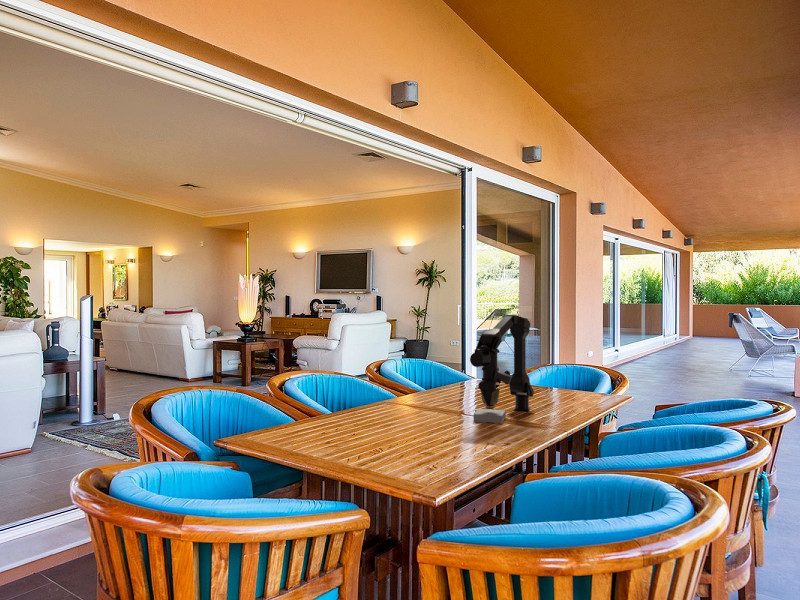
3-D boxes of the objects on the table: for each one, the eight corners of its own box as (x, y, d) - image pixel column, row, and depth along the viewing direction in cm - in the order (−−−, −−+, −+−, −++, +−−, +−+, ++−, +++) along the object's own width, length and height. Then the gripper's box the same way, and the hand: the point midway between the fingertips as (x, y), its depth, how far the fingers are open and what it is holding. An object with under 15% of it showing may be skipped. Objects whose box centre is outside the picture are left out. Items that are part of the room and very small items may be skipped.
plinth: (478, 416, 234) (478, 408, 234) (505, 417, 230) (505, 410, 230) (473, 421, 223) (473, 413, 223) (501, 423, 220) (501, 415, 220)
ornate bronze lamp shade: (498, 407, 230) (498, 387, 230) (500, 410, 223) (500, 390, 223) (480, 406, 231) (480, 386, 231) (481, 410, 224) (481, 389, 224)
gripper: (507, 368, 215) (507, 409, 216) (513, 362, 233) (513, 401, 233) (478, 367, 219) (478, 408, 219) (486, 361, 237) (486, 399, 237)
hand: (490, 404), depth 227 cm, fingers closed on ornate bronze lamp shade, 6 cm apart
